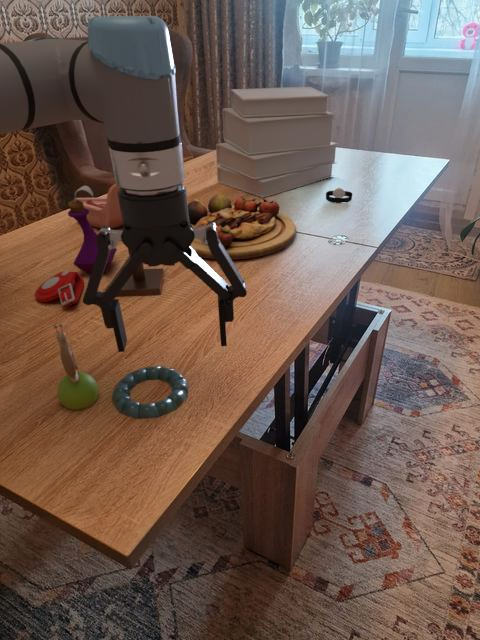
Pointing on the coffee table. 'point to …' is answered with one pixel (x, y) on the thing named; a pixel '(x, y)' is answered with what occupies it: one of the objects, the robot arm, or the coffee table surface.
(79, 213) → the perfume bottle
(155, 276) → the rack
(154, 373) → the ring
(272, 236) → the wooden plate
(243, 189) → the book stack
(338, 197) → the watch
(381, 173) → the coffee table surface
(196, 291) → the coffee table surface
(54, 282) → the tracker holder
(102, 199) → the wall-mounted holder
